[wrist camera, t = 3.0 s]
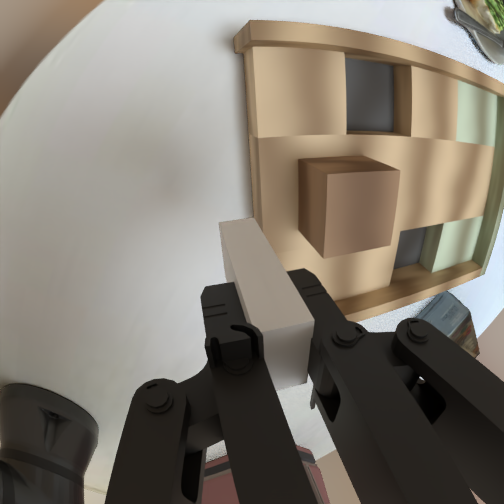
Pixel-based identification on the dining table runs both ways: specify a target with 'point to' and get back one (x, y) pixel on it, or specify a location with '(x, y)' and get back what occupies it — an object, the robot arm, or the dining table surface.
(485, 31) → the salad plate
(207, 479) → the toaster
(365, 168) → the block
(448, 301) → the beverage carton
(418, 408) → the robot arm
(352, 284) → the box
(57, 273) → the dining table surface
